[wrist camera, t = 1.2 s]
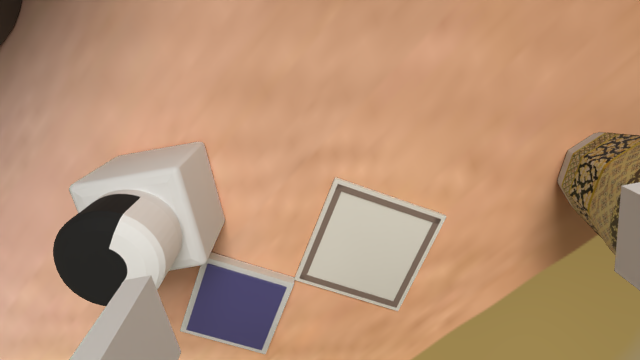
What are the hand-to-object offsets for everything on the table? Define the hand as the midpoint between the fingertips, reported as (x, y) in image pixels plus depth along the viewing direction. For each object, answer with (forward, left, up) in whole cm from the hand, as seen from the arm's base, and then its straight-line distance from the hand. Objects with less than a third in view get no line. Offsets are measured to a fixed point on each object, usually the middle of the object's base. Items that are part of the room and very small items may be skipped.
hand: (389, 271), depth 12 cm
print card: (+6, -9, -21) cm, 24 cm away
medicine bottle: (-11, -10, -22) cm, 26 cm away
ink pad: (-3, -18, -21) cm, 28 cm away
